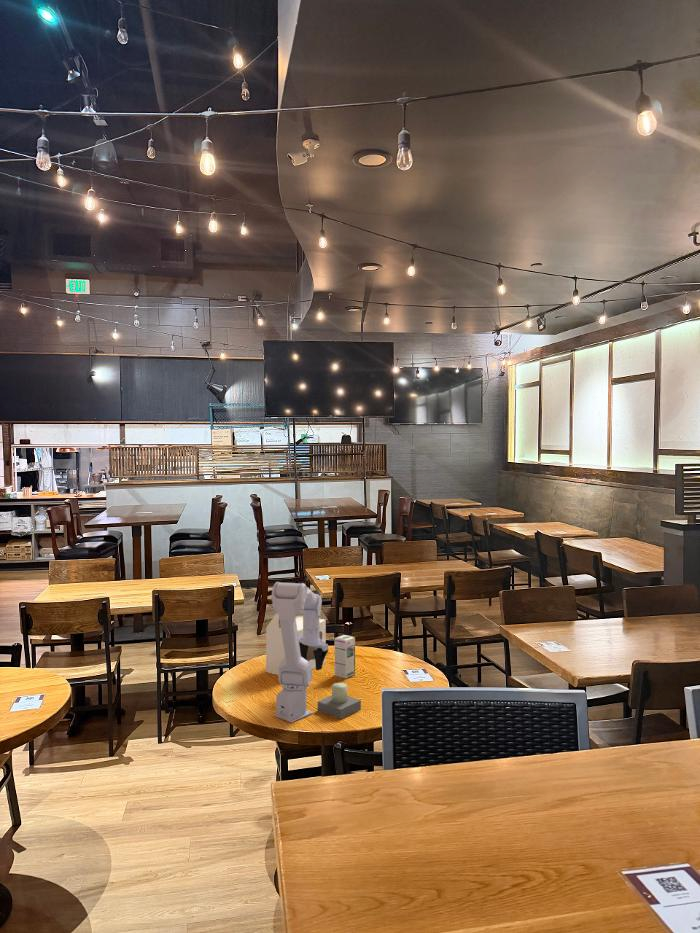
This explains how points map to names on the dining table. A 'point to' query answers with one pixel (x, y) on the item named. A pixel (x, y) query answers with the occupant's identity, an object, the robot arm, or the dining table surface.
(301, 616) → the gable box
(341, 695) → the green cylinder
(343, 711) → the charcoal plinth
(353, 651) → the syrup box
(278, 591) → the robot arm
